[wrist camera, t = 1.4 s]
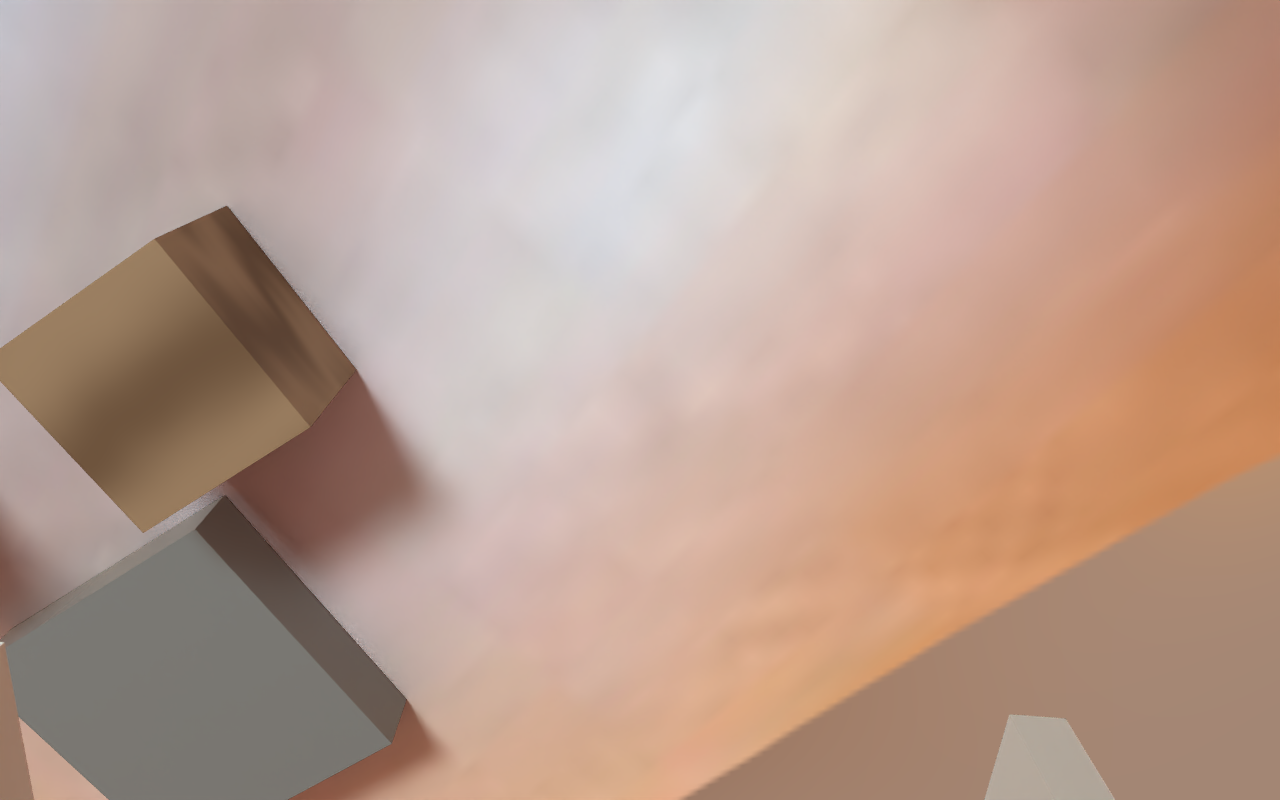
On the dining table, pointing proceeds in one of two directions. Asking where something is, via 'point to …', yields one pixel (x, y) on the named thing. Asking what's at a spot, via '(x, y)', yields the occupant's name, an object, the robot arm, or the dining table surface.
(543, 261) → the dining table surface
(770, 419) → the dining table surface
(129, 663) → the slate stand
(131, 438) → the walnut stand
